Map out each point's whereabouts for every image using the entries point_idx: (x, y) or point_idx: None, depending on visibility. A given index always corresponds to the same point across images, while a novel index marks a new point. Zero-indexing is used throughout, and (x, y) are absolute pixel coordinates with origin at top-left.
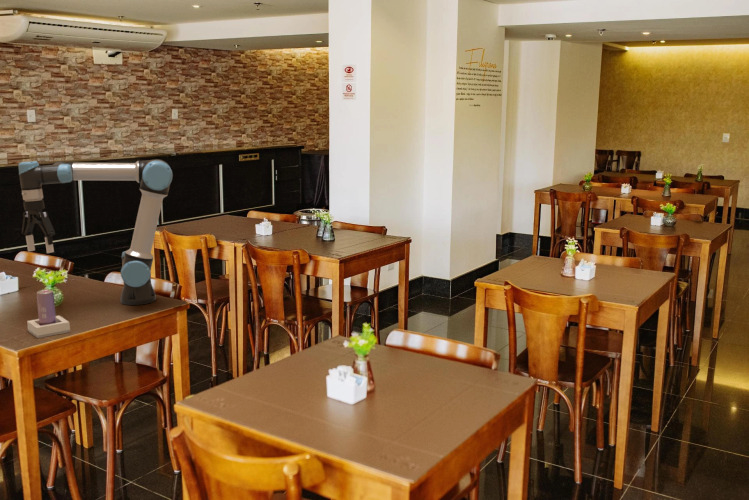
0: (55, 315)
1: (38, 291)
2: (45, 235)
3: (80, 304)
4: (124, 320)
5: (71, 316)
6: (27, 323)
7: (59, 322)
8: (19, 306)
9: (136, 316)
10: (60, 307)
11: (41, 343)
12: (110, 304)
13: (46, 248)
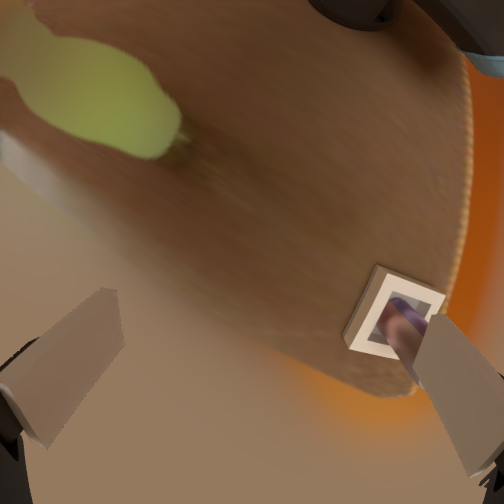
0: (419, 314)
1: (420, 382)
2: (500, 486)
3: (234, 77)
4: (468, 154)
5: (334, 186)
6: (348, 345)
7: (428, 310)
8: (97, 201)
9: (464, 114)
10: (209, 133)
11: None
12: (318, 39)
13: (431, 393)
